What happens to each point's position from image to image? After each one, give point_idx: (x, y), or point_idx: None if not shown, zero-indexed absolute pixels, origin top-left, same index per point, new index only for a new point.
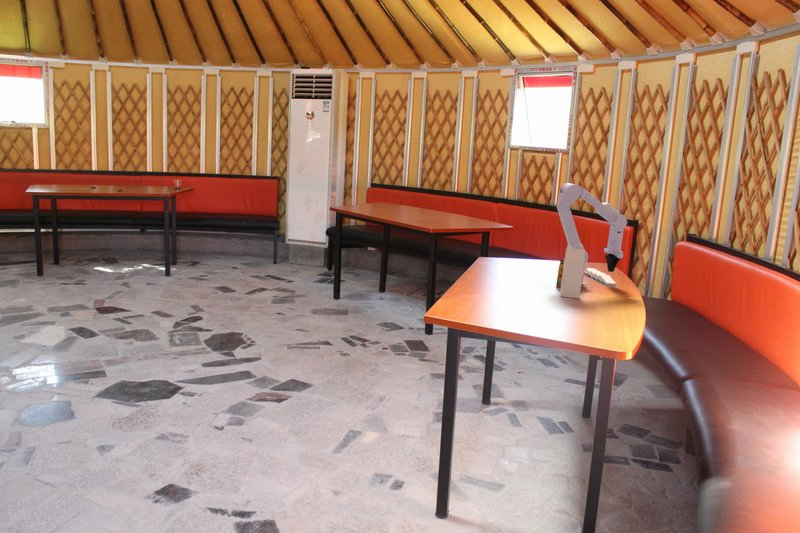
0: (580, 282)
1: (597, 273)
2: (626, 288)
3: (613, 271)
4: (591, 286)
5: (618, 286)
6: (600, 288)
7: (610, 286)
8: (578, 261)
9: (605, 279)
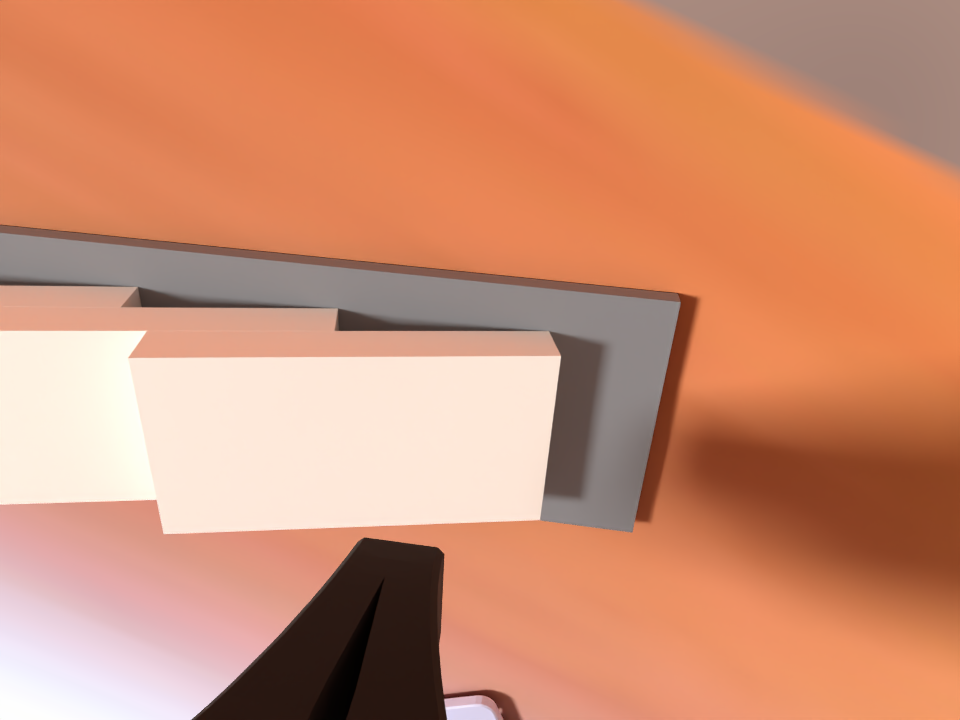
0: None
1: (11, 476)
2: (664, 135)
3: (443, 561)
4: (559, 673)
5: (603, 301)
6: (684, 628)
7: (618, 463)
8: None
9: (392, 495)
